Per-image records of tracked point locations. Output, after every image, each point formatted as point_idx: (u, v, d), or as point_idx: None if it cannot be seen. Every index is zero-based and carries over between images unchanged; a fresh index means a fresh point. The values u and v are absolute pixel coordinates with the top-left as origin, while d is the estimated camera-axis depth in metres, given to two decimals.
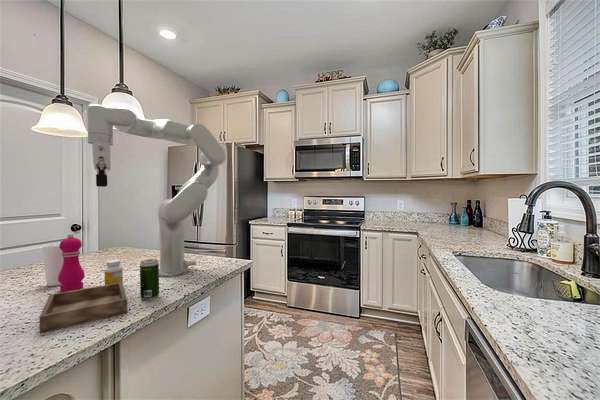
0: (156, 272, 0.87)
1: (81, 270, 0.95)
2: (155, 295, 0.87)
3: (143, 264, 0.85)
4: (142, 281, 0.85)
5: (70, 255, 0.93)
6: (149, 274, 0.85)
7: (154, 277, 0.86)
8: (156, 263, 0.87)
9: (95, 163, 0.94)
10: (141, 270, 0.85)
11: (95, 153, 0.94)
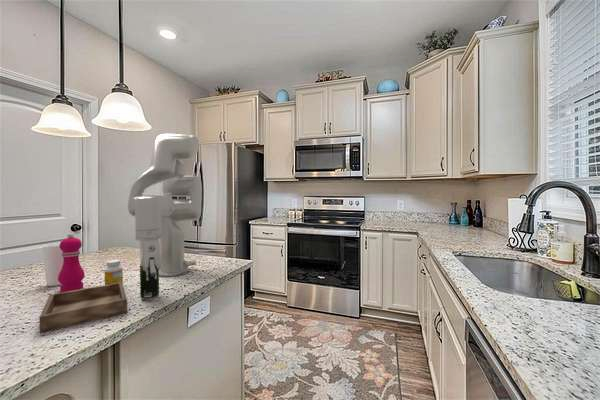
0: (156, 272, 0.87)
1: (81, 270, 0.95)
2: (155, 295, 0.87)
3: None
4: (142, 281, 0.85)
5: (70, 255, 0.93)
6: None
7: None
8: None
9: (145, 266, 0.82)
10: (141, 270, 0.85)
11: (145, 254, 0.82)
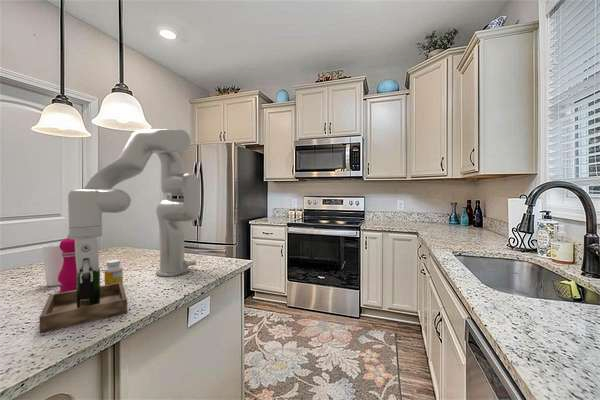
0: (96, 279, 0.78)
1: None
2: None
3: None
4: (78, 289, 0.76)
5: (70, 255, 0.93)
6: None
7: None
8: None
9: (78, 268, 0.73)
10: (77, 276, 0.76)
11: (78, 255, 0.73)
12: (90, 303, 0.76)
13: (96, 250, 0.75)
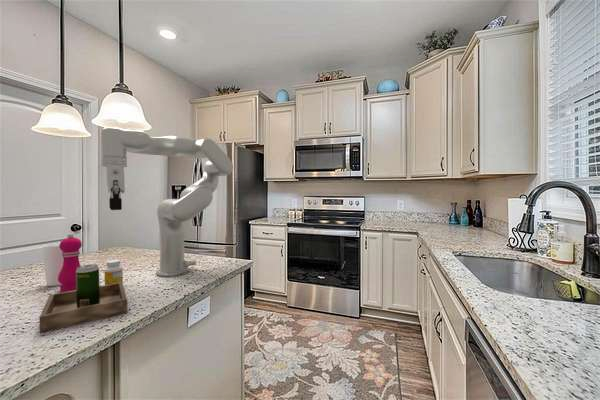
0: (95, 279, 0.78)
1: None
2: None
3: (79, 270, 0.76)
4: (78, 289, 0.76)
5: (70, 255, 0.93)
6: (86, 281, 0.76)
7: (93, 284, 0.77)
8: (95, 269, 0.78)
9: (109, 187, 0.93)
10: (77, 277, 0.76)
11: (109, 177, 0.93)
12: (90, 303, 0.76)
13: (123, 175, 0.95)
